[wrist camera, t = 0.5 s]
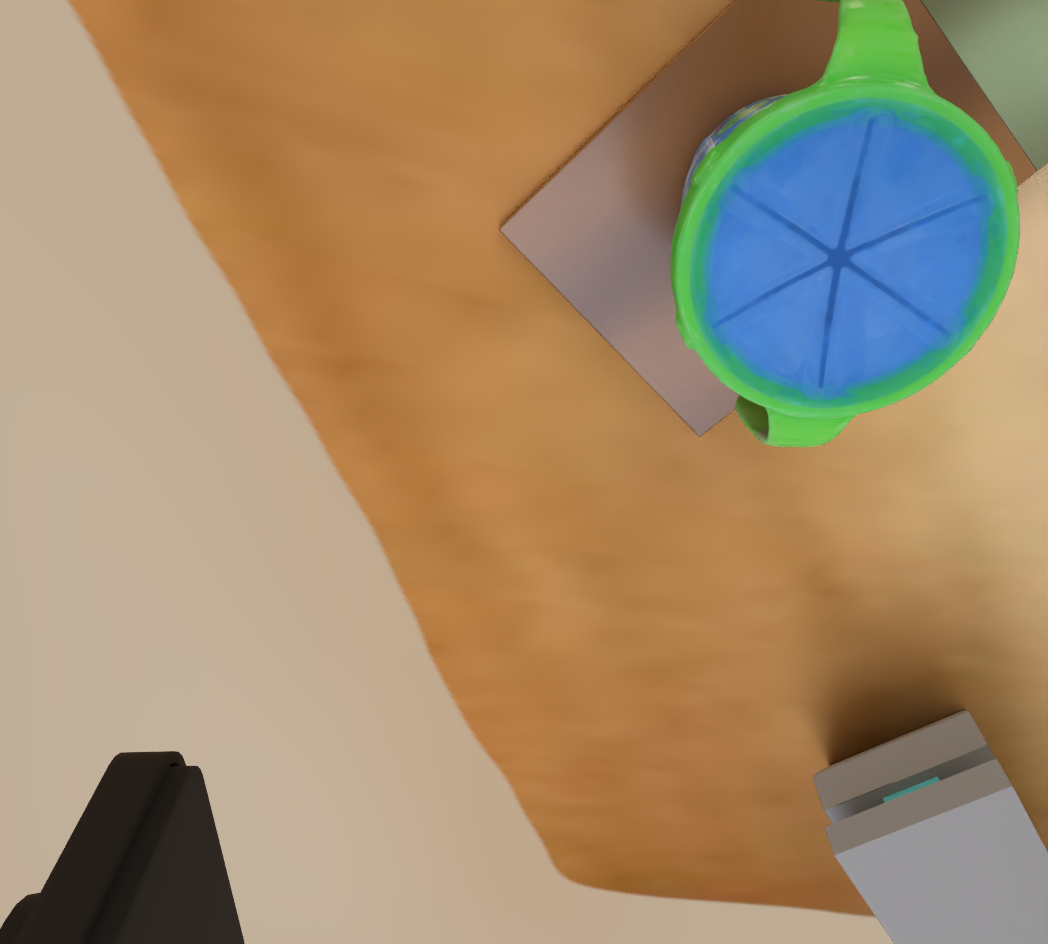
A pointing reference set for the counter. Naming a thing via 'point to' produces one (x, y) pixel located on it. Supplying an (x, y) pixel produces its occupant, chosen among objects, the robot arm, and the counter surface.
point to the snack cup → (843, 238)
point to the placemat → (697, 110)
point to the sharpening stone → (938, 839)
